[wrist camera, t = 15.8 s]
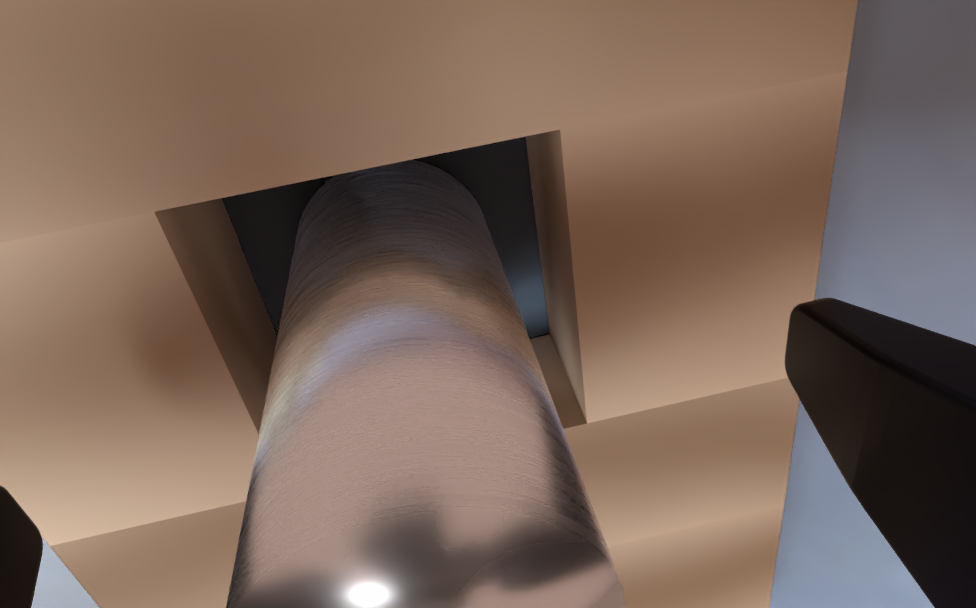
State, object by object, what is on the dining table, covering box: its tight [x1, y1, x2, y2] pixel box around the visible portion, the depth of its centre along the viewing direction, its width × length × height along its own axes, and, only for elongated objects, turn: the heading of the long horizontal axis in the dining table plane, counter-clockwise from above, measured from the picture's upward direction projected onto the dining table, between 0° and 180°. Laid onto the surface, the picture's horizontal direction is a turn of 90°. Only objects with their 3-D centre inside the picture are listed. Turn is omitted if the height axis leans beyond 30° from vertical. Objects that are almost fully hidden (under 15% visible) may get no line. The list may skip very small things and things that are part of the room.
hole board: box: [0, 0, 858, 608], centre depth 12 cm, size 18×12×2 cm, turn 9°
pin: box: [226, 160, 625, 608], centre depth 8 cm, size 3×3×7 cm
